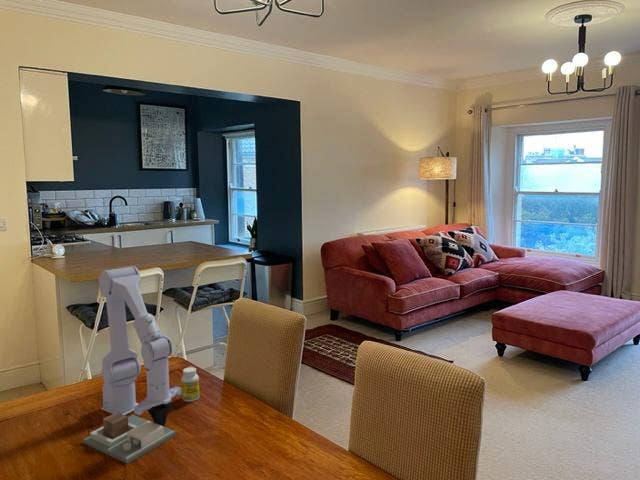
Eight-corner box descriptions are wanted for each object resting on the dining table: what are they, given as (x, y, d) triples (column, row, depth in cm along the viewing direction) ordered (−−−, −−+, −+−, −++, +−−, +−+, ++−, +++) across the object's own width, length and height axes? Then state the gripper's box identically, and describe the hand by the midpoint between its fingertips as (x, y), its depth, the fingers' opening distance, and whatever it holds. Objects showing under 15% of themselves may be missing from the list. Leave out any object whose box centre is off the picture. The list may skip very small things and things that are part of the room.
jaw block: (104, 439, 136) (102, 418, 135) (118, 432, 140) (117, 412, 139) (114, 444, 134) (113, 423, 133) (129, 437, 137) (127, 416, 137)
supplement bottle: (196, 393, 164) (195, 365, 163) (202, 399, 160) (201, 370, 158) (179, 397, 161) (178, 368, 160) (185, 403, 157) (184, 374, 155)
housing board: (83, 442, 134) (82, 434, 134) (133, 417, 148) (132, 409, 148) (127, 463, 125) (126, 454, 125) (176, 434, 139) (176, 426, 138)
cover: (127, 441, 133) (127, 432, 133) (149, 430, 139) (148, 420, 138) (142, 448, 130) (142, 438, 129) (164, 436, 136) (163, 426, 135)
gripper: (146, 395, 128) (148, 445, 130) (188, 375, 140) (190, 421, 142) (127, 388, 132) (130, 437, 134) (170, 370, 144) (172, 414, 146)
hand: (159, 428), depth 138 cm, fingers closed
